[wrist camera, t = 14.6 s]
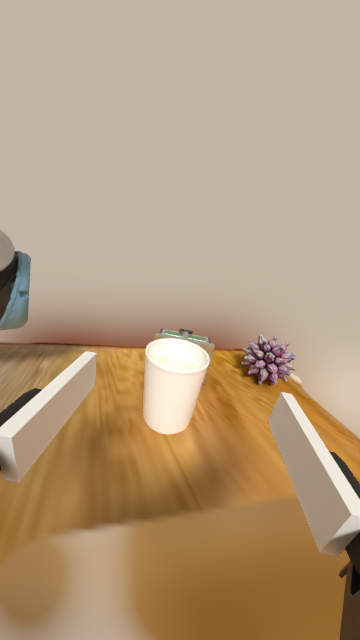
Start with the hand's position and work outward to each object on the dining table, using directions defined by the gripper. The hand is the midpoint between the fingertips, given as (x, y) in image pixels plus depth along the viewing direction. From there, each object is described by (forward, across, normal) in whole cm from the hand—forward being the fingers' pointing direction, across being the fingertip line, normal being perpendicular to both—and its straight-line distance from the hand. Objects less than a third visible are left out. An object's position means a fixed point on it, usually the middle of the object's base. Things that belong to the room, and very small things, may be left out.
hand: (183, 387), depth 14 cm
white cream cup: (+14, -1, -18) cm, 23 cm away
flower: (+30, +20, -18) cm, 41 cm away
